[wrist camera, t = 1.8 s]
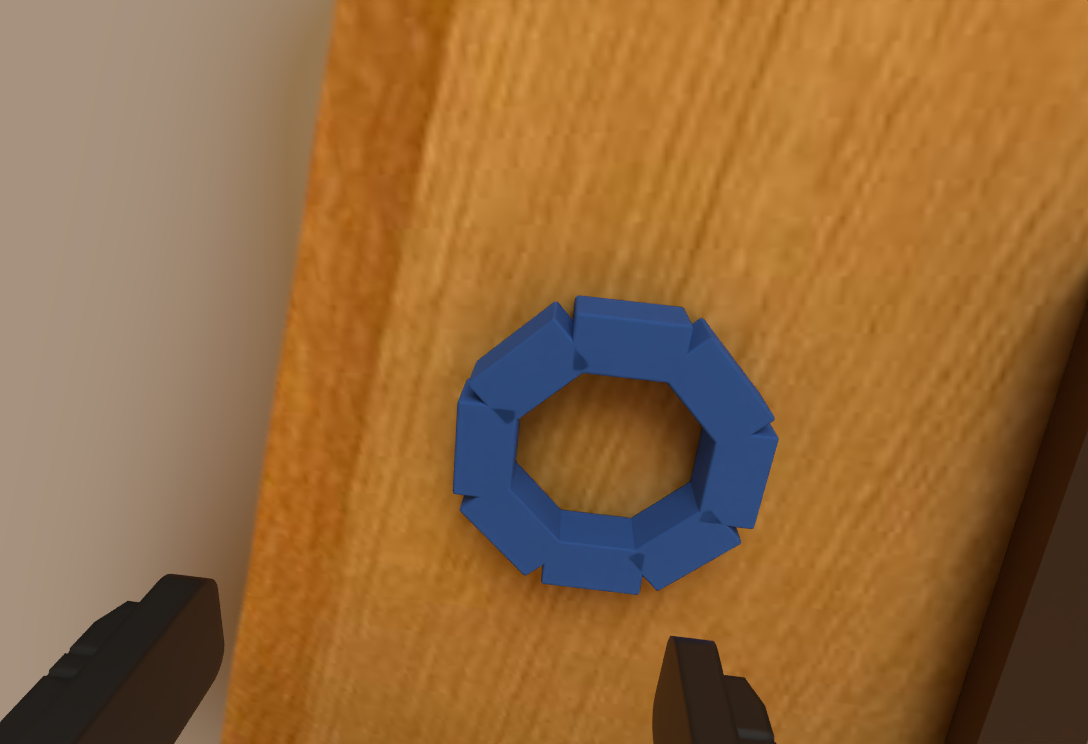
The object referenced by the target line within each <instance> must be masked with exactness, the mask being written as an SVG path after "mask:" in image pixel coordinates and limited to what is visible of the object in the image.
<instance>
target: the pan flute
mask: <svg viewBox="0 0 1088 744" xmlns="http://www.w3.org/2000/svg"><path fill="white" fill-rule="evenodd" d="M945 744H1088V302H1087V305H1086V308H1085V311H1084V314H1083V317H1082V320H1081V324H1080V327H1079V330H1078V333H1077V336H1076V339H1075V342H1074V345H1073V348H1072V351H1071V354H1070V358H1069V361H1068V364H1067V367H1066V370H1065V373H1064V376H1063V379H1062V382H1061V385H1060V388H1059V392H1058V395H1057V398H1056V401H1055V404H1054V407H1053V410H1052V413H1051V416H1050V419H1049V423H1048V426H1047V429H1046V432H1045V435H1044V438H1043V441H1042V444H1041V447H1040V450H1039V453H1038V457H1037V460H1036V463H1035V466H1034V469H1033V472H1032V475H1031V478H1030V481H1029V484H1028V487H1027V491H1026V494H1025V497H1024V500H1023V503H1022V506H1021V509H1020V512H1019V515H1018V518H1017V521H1016V525H1015V528H1014V531H1013V534H1012V537H1011V540H1010V543H1009V546H1008V549H1007V552H1006V555H1005V559H1004V562H1003V565H1002V568H1001V571H1000V574H999V577H998V580H997V583H996V586H995V589H994V593H993V596H992V599H991V602H990V605H989V608H988V611H987V614H986V617H985V620H984V623H983V627H982V630H981V633H980V636H979V639H978V642H977V645H976V648H975V651H974V654H973V657H972V661H971V664H970V667H969V670H968V673H967V676H966V679H965V682H964V685H963V688H962V691H961V695H960V698H959V701H958V704H957V707H956V710H955V713H954V716H953V719H952V722H951V725H950V729H949V732H948V735H947V738H946V741H945Z"/></svg>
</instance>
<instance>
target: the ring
mask: <svg viewBox="0 0 1088 744" xmlns="http://www.w3.org/2000/svg"><path fill="white" fill-rule="evenodd" d="M582 373H587V374H596V375H604V376H613V377H622V378H631V379H639V380H648V381H657V382H665V383H668V385H669V386H670V387H671V388H672V390H673V391H674V392H675V393H676V395H677V396H678V397H679V398H680V400H681V401H682V402H683V403H684V405H685V406H686V407H687V408H688V410H689V411H690V412H691V413H692V415H693V416H694V417H695V418H696V420H697V421H698V422H699V423H700V425H701V426H702V427H703V428H702V432H701V437H700V441H699V446H698V450H697V454H696V459H695V463H694V468H693V472H692V477H691V481H690V482H689V483H687V484H686V485H684V486H682V487H681V488H679V489H677V490H676V491H674V492H673V493H671V494H669V495H668V496H666V497H665V498H663V499H661V500H660V501H658V502H656V503H655V504H653V505H652V506H650V507H648V508H647V509H645V510H643V511H642V512H640V513H639V514H637V515H635V516H634V517H632V518H626V517H618V516H609V515H601V514H592V513H584V512H575V511H566V510H561V509H560V508H559V507H558V506H557V505H556V504H555V503H554V502H553V501H552V500H551V499H550V498H549V496H548V495H547V494H546V493H545V492H544V491H543V490H542V489H541V488H540V487H539V486H538V485H537V484H536V483H535V481H534V480H533V479H532V478H531V477H530V476H529V475H528V474H527V473H526V472H525V471H524V470H523V469H522V467H521V466H520V465H519V464H518V463H517V462H516V454H517V444H518V433H519V423H520V418H521V417H522V416H523V415H525V414H526V413H528V412H529V411H530V410H532V409H533V408H535V407H536V406H537V405H539V404H540V403H542V402H543V401H544V400H546V399H547V398H549V397H550V396H551V395H553V394H554V393H556V392H557V391H558V390H560V389H561V388H563V387H564V386H565V385H567V384H568V383H570V382H571V381H572V380H574V379H575V378H576V377H578V376H579V375H581V374H582ZM773 421H774V416H773V414H772V413H771V411H770V409H769V408H768V406H767V404H766V403H765V401H764V400H763V398H762V396H761V395H760V393H759V392H758V390H757V389H756V388H755V386H754V385H753V384H752V382H751V381H750V380H749V378H748V377H747V376H746V374H745V373H744V372H743V370H742V369H741V368H740V366H739V365H738V364H737V362H736V361H735V360H734V358H733V357H732V356H731V354H730V353H729V352H728V350H727V349H726V348H725V346H724V345H723V344H722V342H721V341H720V340H719V338H718V337H717V336H716V334H715V333H714V332H713V330H712V329H711V328H710V326H709V325H708V324H707V323H706V321H705V320H704V319H703V318H701V319H699V320H697V321H696V322H694V323H693V324H691V322H690V320H689V318H688V316H687V314H686V312H685V310H684V308H682V307H676V306H667V305H658V304H649V303H640V302H632V301H623V300H614V299H605V298H596V297H588V296H577V297H576V299H575V306H574V314H573V320H572V319H571V317H570V316H569V315H568V314H567V313H566V311H565V310H564V309H563V308H562V307H561V305H560V304H559V303H558V302H554V303H552V304H551V305H550V306H548V307H547V308H546V309H544V310H543V311H542V312H540V313H539V314H538V315H537V316H535V317H534V318H533V319H531V320H530V321H529V322H527V323H526V324H525V325H523V326H522V327H521V328H520V329H518V330H517V331H516V332H514V333H513V334H512V335H510V336H509V337H508V338H507V339H505V340H504V341H503V342H501V343H500V344H499V345H497V346H496V347H495V348H493V349H492V350H491V351H490V352H488V353H487V354H486V355H484V356H483V357H482V358H480V359H479V360H478V361H477V362H476V365H475V367H474V370H473V372H472V375H471V377H470V378H469V379H467V381H466V383H465V386H464V388H463V391H462V393H461V396H460V398H459V401H458V405H457V424H456V442H455V460H454V479H453V493H454V494H458V495H464V497H463V501H462V504H461V507H460V511H461V512H462V513H463V514H464V515H465V516H466V517H467V518H468V519H469V520H470V521H471V522H472V523H473V524H474V525H475V526H476V527H477V528H478V529H479V530H480V531H481V532H482V533H483V534H484V535H485V536H486V537H487V538H488V539H489V540H490V541H491V543H492V544H493V545H494V546H495V547H496V548H497V549H498V550H499V551H500V552H501V553H502V554H503V555H504V556H505V557H506V558H507V559H508V560H509V561H510V562H511V563H512V564H513V565H514V566H515V567H516V568H517V569H518V570H519V571H520V572H521V573H522V574H523V575H527V574H529V573H530V572H532V571H534V570H535V569H537V568H539V567H540V566H542V565H543V566H542V578H541V581H542V583H543V584H550V585H558V586H567V587H575V588H584V589H592V590H601V591H609V592H618V593H626V594H635V595H638V594H639V592H640V587H641V582H642V577H643V576H644V577H645V579H646V580H647V581H648V582H649V583H650V584H651V585H652V586H653V587H654V588H655V589H656V590H657V591H658V590H660V589H662V588H664V587H666V586H667V585H669V584H671V583H673V582H674V581H676V580H678V579H680V578H681V577H683V576H685V575H687V574H688V573H690V572H692V571H694V570H695V569H697V568H699V567H701V566H702V565H704V564H706V563H708V562H709V561H711V560H713V559H715V558H717V557H718V556H720V555H722V554H724V553H725V552H727V551H729V550H731V549H732V548H734V547H736V546H738V545H739V544H740V543H741V540H740V537H739V534H738V532H737V529H736V527H739V528H748V529H753V528H754V525H755V522H756V518H757V515H758V511H759V508H760V504H761V500H762V497H763V493H764V490H765V486H766V483H767V479H768V475H769V472H770V468H771V465H772V461H773V458H774V454H775V450H776V447H777V443H778V440H779V439H778V436H777V435H776V433H775V431H774V430H773V428H772V426H771V425H770V423H771V422H773Z"/></svg>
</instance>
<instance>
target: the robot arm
mask: <svg viewBox="0 0 1088 744" xmlns="http://www.w3.org/2000/svg"><path fill="white" fill-rule="evenodd" d="M223 654H224V636H223V628H222V619H221V611H220V603H219V594H218V588H217V584H216V582H215V580H213V579H209V578H201V577H193V576H184V575H176V574H167V575H165V576H164V577H162V578H161V579H160V580H159V581H158V582H157V583H156V584H155V585H154V587H153V588H152V589H151V590H150V591H149V592H148V594H146V596H145V597H144V598H143V599H142V600H141V601H140V602H132V601H127V602H125V603H124V604H122V605H121V606H119V607H117V608H116V609H114V610H113V611H111V612H110V613H108V614H106V615H105V616H103V617H102V618H100V619H99V620H97V621H95V622H94V623H93V624H92V625H91V626H90V628H89V629H88V630H87V631H86V632H85V633H84V634H83V635H82V636H81V637H80V638H79V639H78V640H77V641H76V642H75V643H74V644H73V646H71V648H70V651H69V653H68V654H66V653H65V654H64V655H63V656H62V657H61V658H60V659H59V660H58V661H57V662H56V663H55V664H54V666H53V667H52V668H51V669H50V670H49V674H48V675H47V676H43V677H42V678H41V679H40V680H39V681H38V682H37V684H36V685H35V686H34V687H33V688H32V689H31V690H30V691H29V692H28V693H27V694H26V695H25V696H24V697H23V698H22V699H21V700H20V702H19V703H18V704H17V705H16V706H15V707H14V708H13V709H12V710H11V711H10V712H9V713H8V714H7V715H6V716H5V717H4V718H3V720H2V721H1V722H0V744H174V743H175V741H176V740H177V738H178V737H179V735H180V734H181V732H182V730H183V729H184V727H185V726H186V724H187V722H188V721H189V719H190V718H191V716H192V715H193V713H194V712H195V710H196V709H197V707H198V705H199V704H200V702H201V701H202V699H203V697H204V696H205V694H206V693H207V691H208V690H209V688H210V687H211V685H212V683H213V682H214V680H215V678H216V676H217V674H218V671H219V669H220V666H221V663H222V659H223ZM652 728H653V742H654V744H776V743H775V742H774V734H773V731H772V728H771V724H770V721H769V718H768V714H767V711H766V708H765V705H764V704H763V702H762V701H761V700H760V698H759V697H758V695H757V694H756V693H755V691H754V690H753V689H752V687H751V686H750V684H749V683H748V682H747V680H746V679H745V678H744V677H736V676H728V675H724V674H723V670H722V666H721V662H720V658H719V653H718V650H717V646H716V644H715V643H714V641H710V640H702V639H693V638H685V637H677V636H670V638H669V640H668V642H667V646H666V651H665V655H664V659H663V663H662V668H661V672H660V676H659V681H658V685H657V689H656V693H655V698H654V705H653V720H652Z"/></svg>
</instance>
